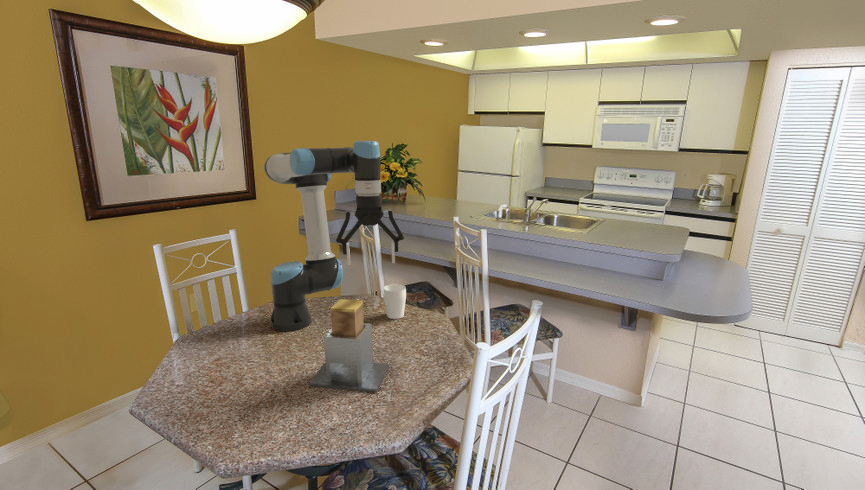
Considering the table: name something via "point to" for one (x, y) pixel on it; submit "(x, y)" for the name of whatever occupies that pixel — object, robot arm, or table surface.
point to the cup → (395, 300)
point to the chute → (350, 363)
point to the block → (347, 318)
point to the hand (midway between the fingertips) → (371, 263)
